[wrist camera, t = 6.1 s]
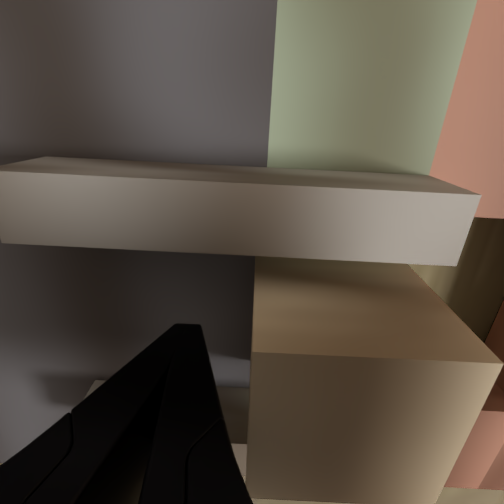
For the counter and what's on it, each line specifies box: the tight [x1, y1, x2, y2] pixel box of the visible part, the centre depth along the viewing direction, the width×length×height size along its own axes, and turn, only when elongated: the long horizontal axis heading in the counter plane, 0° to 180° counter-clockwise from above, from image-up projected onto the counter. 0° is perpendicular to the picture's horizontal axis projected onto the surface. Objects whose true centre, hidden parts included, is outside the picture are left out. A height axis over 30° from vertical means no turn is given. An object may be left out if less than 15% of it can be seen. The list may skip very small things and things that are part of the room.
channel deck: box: [0, 0, 504, 490], centre depth 10 cm, size 22×16×4 cm
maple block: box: [245, 256, 504, 504], centre depth 8 cm, size 4×4×4 cm
